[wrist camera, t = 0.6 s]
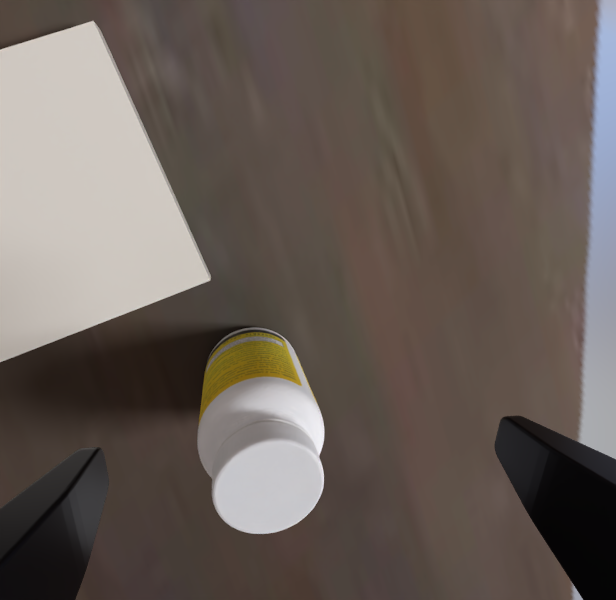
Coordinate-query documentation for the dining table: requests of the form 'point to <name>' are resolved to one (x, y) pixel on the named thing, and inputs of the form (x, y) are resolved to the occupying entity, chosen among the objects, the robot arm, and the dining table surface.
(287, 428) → the supplement bottle
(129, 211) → the ceramic tile
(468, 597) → the dining table surface
